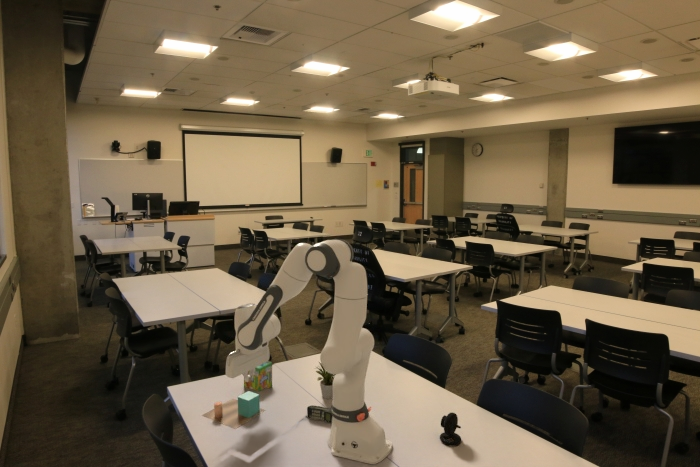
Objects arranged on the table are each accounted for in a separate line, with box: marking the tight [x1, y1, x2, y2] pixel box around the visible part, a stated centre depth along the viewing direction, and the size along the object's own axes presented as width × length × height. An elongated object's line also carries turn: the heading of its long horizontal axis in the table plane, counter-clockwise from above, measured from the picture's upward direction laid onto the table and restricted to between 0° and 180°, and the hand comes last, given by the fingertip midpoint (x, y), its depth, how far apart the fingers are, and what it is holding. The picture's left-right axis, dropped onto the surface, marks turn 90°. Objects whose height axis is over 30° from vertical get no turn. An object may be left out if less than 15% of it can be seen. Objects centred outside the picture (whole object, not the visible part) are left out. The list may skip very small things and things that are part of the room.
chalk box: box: [243, 360, 273, 392], centre depth 197 cm, size 9×9×15 cm
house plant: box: [314, 361, 336, 400], centre depth 189 cm, size 14×14×16 cm
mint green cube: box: [237, 390, 261, 418], centre depth 173 cm, size 6×6×7 cm
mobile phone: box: [306, 405, 332, 424], centre depth 171 cm, size 5×3×15 cm
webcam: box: [439, 412, 462, 447], centre depth 157 cm, size 8×8×10 cm
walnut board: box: [201, 398, 266, 430], centre depth 174 cm, size 18×16×2 cm
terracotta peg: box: [213, 401, 223, 418], centre depth 171 cm, size 3×3×5 cm
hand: (249, 380), depth 172 cm, fingers closed
